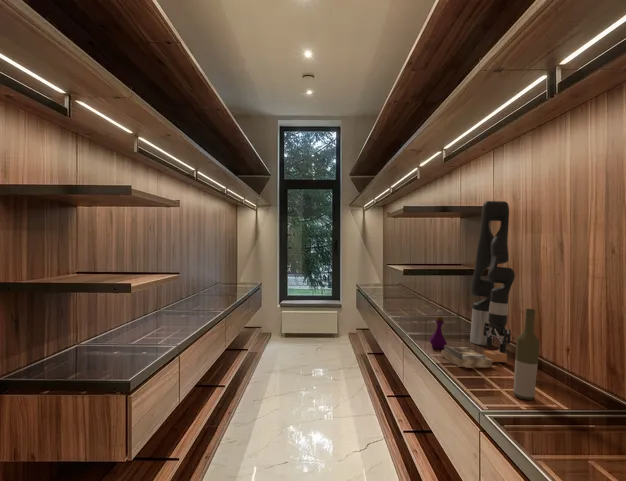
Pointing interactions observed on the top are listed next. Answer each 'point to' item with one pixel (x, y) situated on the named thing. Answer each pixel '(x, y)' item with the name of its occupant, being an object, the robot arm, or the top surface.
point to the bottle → (526, 360)
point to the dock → (465, 357)
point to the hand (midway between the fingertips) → (495, 349)
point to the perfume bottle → (438, 334)
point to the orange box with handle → (496, 356)
